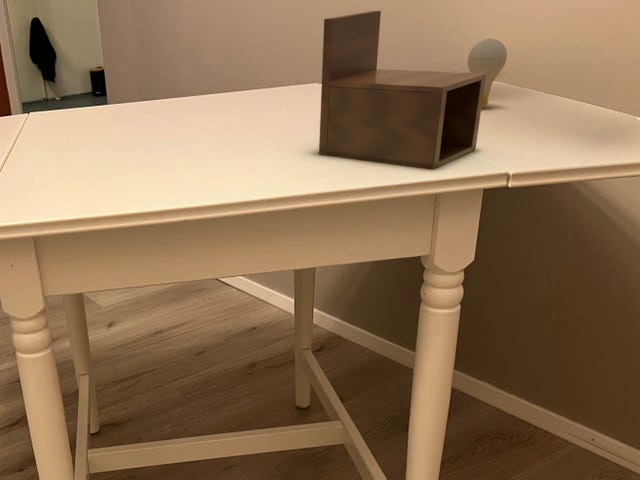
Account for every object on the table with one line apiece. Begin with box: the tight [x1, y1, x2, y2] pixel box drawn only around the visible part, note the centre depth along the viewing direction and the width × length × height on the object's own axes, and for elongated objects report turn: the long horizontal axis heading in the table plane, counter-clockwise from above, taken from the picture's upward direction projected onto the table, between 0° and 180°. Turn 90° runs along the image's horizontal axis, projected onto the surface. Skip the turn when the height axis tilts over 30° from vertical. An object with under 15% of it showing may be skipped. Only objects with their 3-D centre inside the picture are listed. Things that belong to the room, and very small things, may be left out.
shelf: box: [318, 10, 486, 170], centre depth 87 cm, size 16×11×16 cm
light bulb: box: [467, 38, 508, 109], centre depth 109 cm, size 6×6×10 cm
